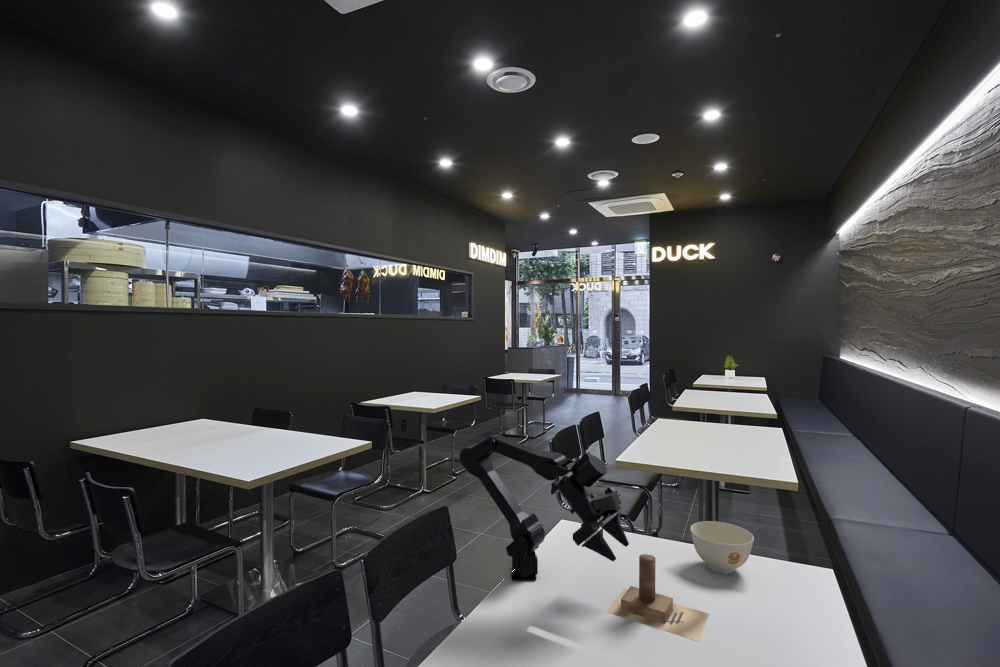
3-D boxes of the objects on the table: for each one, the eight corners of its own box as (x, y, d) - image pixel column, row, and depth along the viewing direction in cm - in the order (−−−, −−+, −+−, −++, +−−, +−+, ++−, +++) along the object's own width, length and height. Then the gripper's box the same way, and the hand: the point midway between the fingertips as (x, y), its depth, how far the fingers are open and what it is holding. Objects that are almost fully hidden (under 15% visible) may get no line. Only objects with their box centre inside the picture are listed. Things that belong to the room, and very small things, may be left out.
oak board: (606, 615, 115) (606, 611, 115) (623, 592, 125) (623, 588, 125) (698, 646, 104) (698, 641, 104) (709, 618, 114) (709, 613, 114)
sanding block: (620, 609, 116) (621, 558, 115) (630, 596, 121) (630, 547, 121) (665, 623, 110) (665, 569, 110) (672, 608, 116) (673, 557, 116)
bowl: (748, 560, 143) (749, 525, 143) (757, 587, 128) (758, 548, 128) (689, 551, 148) (689, 518, 148) (691, 577, 133) (691, 539, 133)
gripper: (585, 489, 114) (633, 549, 108) (613, 469, 130) (656, 521, 124) (554, 516, 118) (598, 575, 112) (585, 494, 134) (625, 545, 128)
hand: (621, 552), depth 119 cm, fingers open, 9 cm apart
